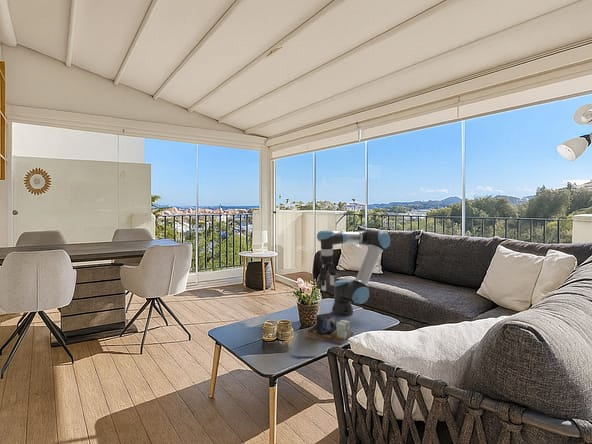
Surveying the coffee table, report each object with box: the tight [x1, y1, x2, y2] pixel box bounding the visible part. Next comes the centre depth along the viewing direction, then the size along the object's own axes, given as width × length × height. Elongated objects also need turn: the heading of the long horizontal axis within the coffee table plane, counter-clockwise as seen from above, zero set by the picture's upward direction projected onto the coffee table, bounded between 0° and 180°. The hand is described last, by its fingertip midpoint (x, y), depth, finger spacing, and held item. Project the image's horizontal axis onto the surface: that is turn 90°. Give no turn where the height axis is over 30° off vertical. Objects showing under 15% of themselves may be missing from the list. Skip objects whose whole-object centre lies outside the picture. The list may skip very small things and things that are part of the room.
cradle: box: [306, 319, 354, 345], centre depth 213 cm, size 18×22×10 cm
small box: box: [315, 312, 337, 335], centre depth 214 cm, size 11×6×10 cm, turn 111°
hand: (328, 287), depth 230 cm, fingers open, 13 cm apart
